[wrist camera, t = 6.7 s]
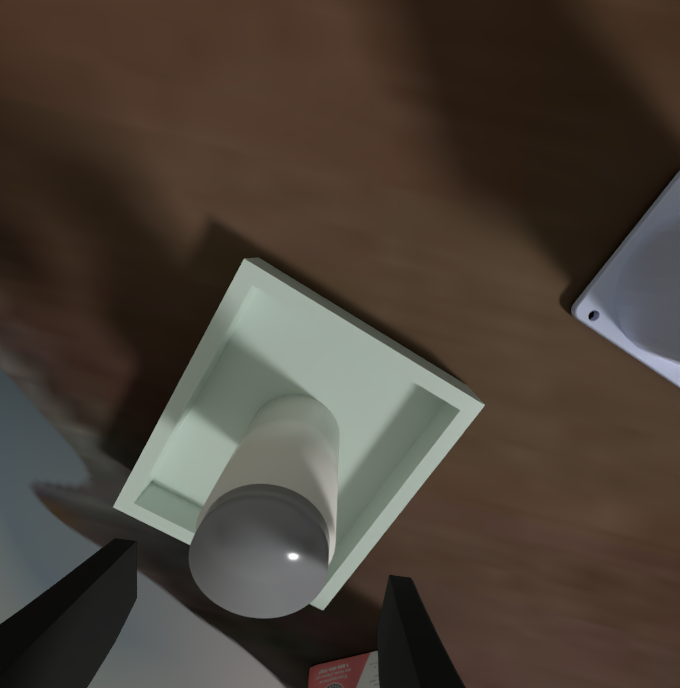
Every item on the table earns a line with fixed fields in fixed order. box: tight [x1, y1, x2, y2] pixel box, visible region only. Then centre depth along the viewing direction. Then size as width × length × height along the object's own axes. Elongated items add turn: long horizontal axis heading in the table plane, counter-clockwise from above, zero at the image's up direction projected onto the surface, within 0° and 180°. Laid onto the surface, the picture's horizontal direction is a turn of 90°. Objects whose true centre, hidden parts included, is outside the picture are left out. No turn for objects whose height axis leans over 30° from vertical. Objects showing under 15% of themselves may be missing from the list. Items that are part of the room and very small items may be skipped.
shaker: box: [189, 394, 340, 618], centre depth 15 cm, size 5×5×8 cm
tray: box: [113, 257, 485, 610], centre depth 19 cm, size 13×15×2 cm
